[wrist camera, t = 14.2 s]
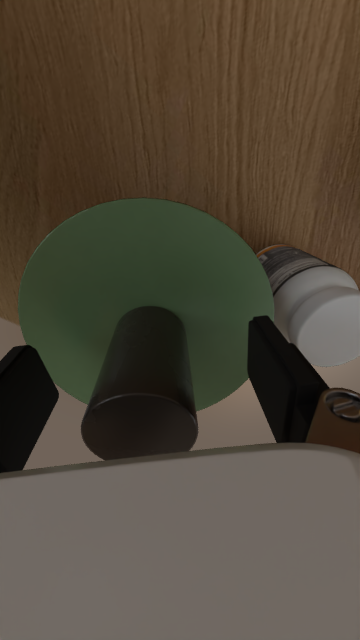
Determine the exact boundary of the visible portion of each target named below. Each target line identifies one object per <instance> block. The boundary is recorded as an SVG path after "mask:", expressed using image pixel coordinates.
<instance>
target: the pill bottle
mask: <svg viewBox="0 0 360 640" xmlns="http://www.w3.org/2000/svg"><path fill="white" fill-rule="evenodd" d="M256 256H257V257H258V259H259V260H260V262H261V264H262V266H263V268H264V270H265V272H266V274H267V276H268V279H269V282H270V286H271V289H272V293H273V300H274V324H275V325H276V327H277V328H278V329H279V331H280V332H281V333H282V335H283V336H284V337H285V338H286V340H287V341H288V342H289V343H294V344H295V345H296V346H297V348H298V349H299V350H300V352H301V353H302V354H303V355H304V357H305V358H306V359H307V360H308V362H309V363H310V364H313V365H316V366H322V367H330V366H337V365H341V364H344V363H347V362H349V361H351V360H354V359H355V358H357V357H359V356H360V291H359V290H358V287H357V285H356V283H355V281H354V280H353V279H352V278H351V276H350V275H349V274H347V273H346V272H345V271H343V270H342V269H340V268H338V267H336V266H334V265H331V264H329V263H327V262H325V261H323V260H321V259H319V258H317V257H315V256H312V255H310V254H308V253H306V252H304V251H302V250H300V249H298V248H295V247H292V246H289V245H284V244H279V245H273V246H269V247H267V248H265V249H263V250H261V251H260V252H258V253H257V254H256Z"/></svg>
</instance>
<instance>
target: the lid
mask: <svg viewBox="0 0 360 640" xmlns="http://www.w3.org/2000/svg"><path fill="white" fill-rule="evenodd" d="M18 314H19V321H20V326H21V330H22V333H23V337H24V340H25V342H26V344H27V345H30V346H32V347H33V348H35V349H36V350H37V351H38V353H39V355H40V357H41V359H42V361H43V363H44V365H45V367H46V369H47V371H48V373H49V375H50V377H51V378H52V380H53V382H54V383H55V384H57V385H58V386H59V387H60V388H62V389H63V390H64V391H65V392H67V393H68V394H70V395H71V396H73V397H75V398H76V399H78V400H79V401H81V402H83V403H85V404H87V405H88V406H87V409H86V412H85V415H84V417H83V420H82V424H81V434H82V438H83V441H84V443H85V444H86V446H87V447H88V448H89V449H90V451H92V452H93V453H94V454H95V455H97V456H98V457H100V458H102V459H103V460H105V461H106V460H114V459H123V458H132V457H141V456H149V455H159V454H168V453H177V452H186V451H189V450H190V449H191V448H192V447H193V445H194V444H195V442H196V439H197V436H198V423H197V415H196V411H199V410H202V409H205V408H207V407H209V406H211V405H213V404H215V403H217V402H219V401H221V400H222V399H224V398H226V397H227V396H229V395H230V394H231V393H233V392H234V391H235V390H237V389H238V388H239V387H240V386H241V385H242V384H243V383H244V382H245V381H246V380H247V379H248V378H249V376H248V372H247V356H248V324H249V321H251V320H253V317H256V316H264V315H268V316H269V318H270V319H271V320H272V321H273V323H274V300H273V293H272V289H271V286H270V282H269V279H268V276H267V274H266V272H265V270H264V268H263V266H262V264H261V262H260V260H259V259H258V257H257V256H256V254H255V253H254V252H253V250H252V249H251V247H250V246H249V245H248V244H247V243H246V242H245V241H244V240H243V239H242V238H241V237H240V236H239V235H238V234H237V233H236V232H235V231H233V230H232V229H231V228H230V227H228V226H227V225H226V224H224V223H223V222H222V221H220V220H218V219H217V218H215V217H213V216H211V215H210V214H208V213H206V212H204V211H202V210H200V209H197V208H195V207H192V206H189V205H187V204H184V203H179V202H175V201H171V200H167V199H158V198H146V197H142V198H125V199H120V200H115V201H110V202H105V203H101V204H99V205H96V206H93V207H91V208H88V209H85V210H83V211H81V212H79V213H77V214H75V215H74V216H72V217H70V218H68V219H67V220H65V221H63V222H62V223H61V224H60V225H58V226H57V227H56V228H55V229H54V230H52V231H51V232H50V233H49V234H48V235H47V236H46V237H45V238H44V239H43V241H42V242H41V243H40V244H39V245H38V246H37V248H36V249H35V251H34V253H33V254H32V256H31V258H30V259H29V261H28V263H27V265H26V268H25V270H24V273H23V276H22V279H21V284H20V289H19V293H18Z"/></svg>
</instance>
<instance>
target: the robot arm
mask: <svg viewBox="0 0 360 640" xmlns="http://www.w3.org/2000/svg"><path fill="white" fill-rule="evenodd" d="M247 372H248V376H249V378H250V381H251V383H252V386H253V388H254V390H255V393H256V395H257V397H258V400H259V402H260V404H261V407H262V409H263V411H264V414H265V416H266V418H267V421H268V423H269V426H270V428H271V430H272V433H273V435H274V437H275V440H276V442H277V443H269V444H255V445H246V446H234V447H223V448H214V449H205V450H195V451H186V452H177V453H168V454H159V455H149V456H141V457H132V458H123V459H114V460H106V461H98V462H89V463H80V464H71V465H64V466H54V467H47V468H38V469H31V470H23V468H24V466H25V464H26V462H27V460H28V458H29V456H30V454H31V452H32V450H33V448H34V446H35V444H36V442H37V440H38V438H39V436H40V434H41V432H42V430H43V428H44V426H45V424H46V422H47V420H48V418H49V416H50V414H51V412H52V410H53V408H54V406H55V404H56V403H57V401H58V398H59V393H58V390H57V388H56V387H55V384H54V382H53V380H52V378H51V377H50V375H49V373H48V371H47V369H46V367H45V365H44V363H43V361H42V359H41V357H40V355H39V353H38V351H37V350H36V349H35V348H33V347H32V346H30V345H24V346H16V347H13V348H12V349H11V350H10V351H9V352H8V353H7V355H5V357H4V358H3V359H2V360H1V361H0V640H360V394H359V393H356V392H354V391H352V390H348V389H344V388H329V387H328V386H327V384H326V383H325V382H324V380H323V379H322V378H321V377H320V375H319V374H318V373H317V372H316V371H315V369H314V368H313V367H312V365H311V364H310V363H309V362H308V360H307V359H306V358H305V357H304V355H303V354H302V353H301V352H300V350H299V349H298V348H297V346H296V345H295V344H294V343H289V342H288V341H287V340H286V338H285V337H284V336H283V335H282V333H281V332H280V331H279V329H278V328H277V327H276V325H275V324H274V323H273V321H272V320H271V319H270V318H269V316H268V315H264V316H256V317H253V320H251V321H249V324H248V356H247Z"/></svg>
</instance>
